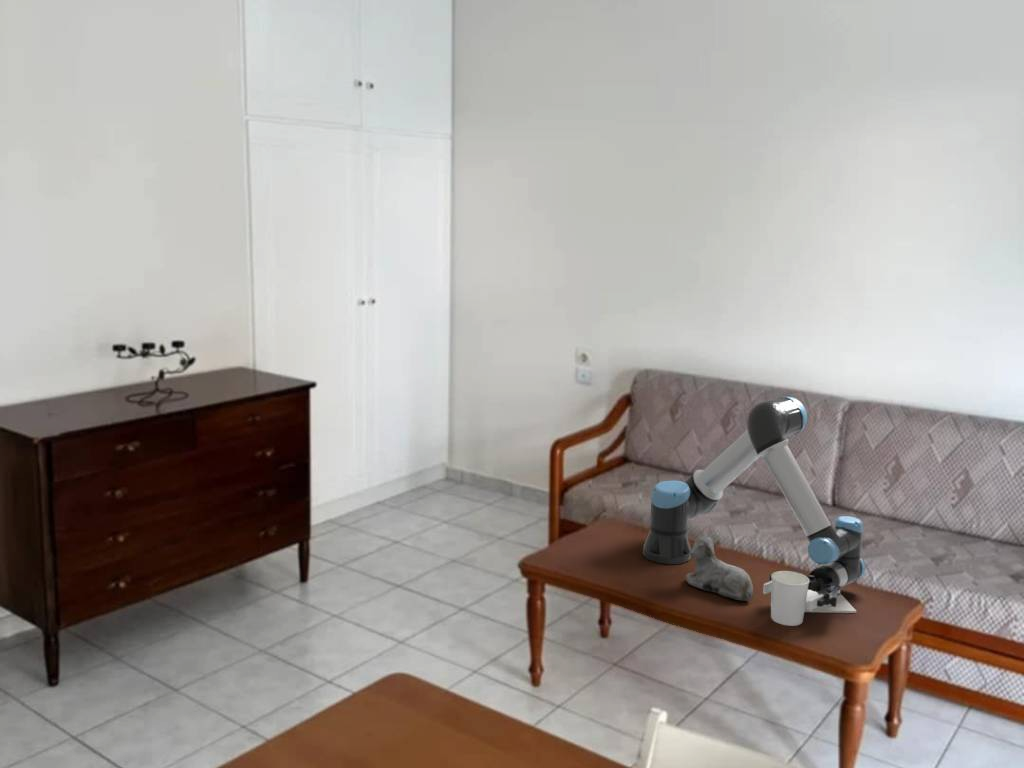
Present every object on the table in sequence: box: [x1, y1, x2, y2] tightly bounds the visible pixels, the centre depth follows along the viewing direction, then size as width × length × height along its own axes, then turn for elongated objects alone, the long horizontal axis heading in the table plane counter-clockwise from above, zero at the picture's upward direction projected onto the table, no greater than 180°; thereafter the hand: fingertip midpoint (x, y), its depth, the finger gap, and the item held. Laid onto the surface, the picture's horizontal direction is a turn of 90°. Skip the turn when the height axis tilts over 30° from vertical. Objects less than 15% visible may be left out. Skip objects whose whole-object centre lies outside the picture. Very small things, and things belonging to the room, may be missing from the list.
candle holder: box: [770, 570, 809, 627], centre depth 252 cm, size 10×10×12 cm
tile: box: [804, 590, 857, 614], centre depth 266 cm, size 16×16×1 cm
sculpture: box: [685, 535, 754, 602], centre depth 270 cm, size 11×21×15 cm, turn 61°
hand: (786, 597), depth 251 cm, fingers open, 13 cm apart
